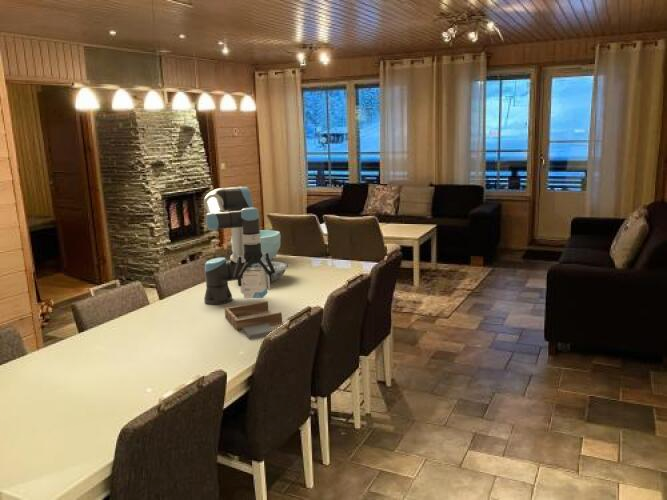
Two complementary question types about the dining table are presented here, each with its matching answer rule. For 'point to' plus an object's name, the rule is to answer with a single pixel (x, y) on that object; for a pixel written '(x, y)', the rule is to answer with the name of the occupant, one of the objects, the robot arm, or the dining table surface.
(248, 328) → the plinth
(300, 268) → the dining table surface
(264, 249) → the bowl
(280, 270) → the ceramic bowl
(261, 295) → the ink box
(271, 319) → the brown wooden shallow tray
